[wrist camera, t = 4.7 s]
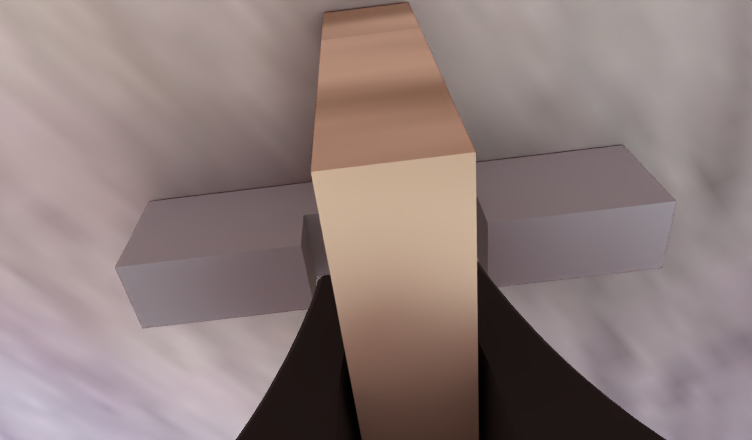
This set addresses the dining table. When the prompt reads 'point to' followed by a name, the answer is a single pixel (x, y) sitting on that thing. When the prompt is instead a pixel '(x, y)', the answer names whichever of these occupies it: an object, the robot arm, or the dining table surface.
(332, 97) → the beige slab block
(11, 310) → the dining table surface
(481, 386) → the robot arm
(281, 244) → the slate rail
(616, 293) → the dining table surface
